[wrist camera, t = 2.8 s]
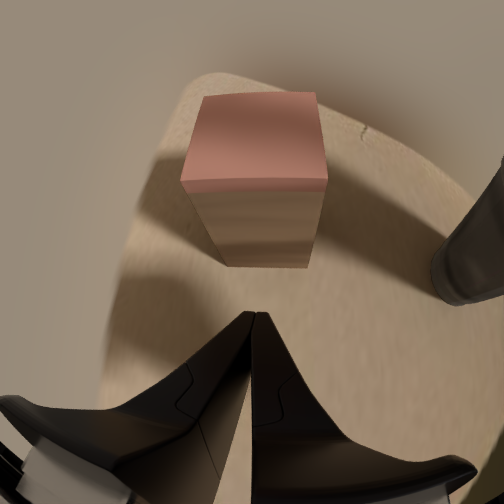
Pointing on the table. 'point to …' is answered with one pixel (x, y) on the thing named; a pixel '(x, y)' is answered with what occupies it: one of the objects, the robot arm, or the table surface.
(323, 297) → the table surface
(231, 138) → the wooden block
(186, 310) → the table surface
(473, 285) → the beverage cup
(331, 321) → the table surface
